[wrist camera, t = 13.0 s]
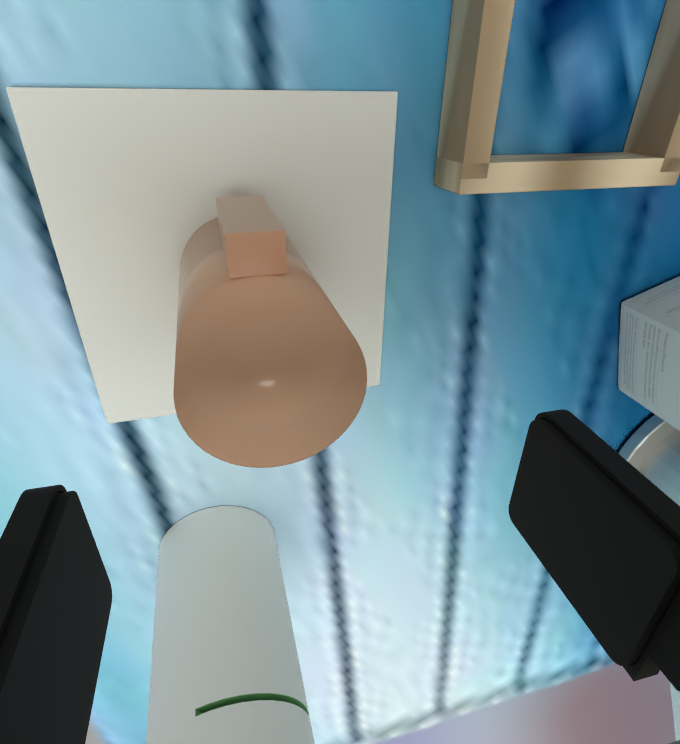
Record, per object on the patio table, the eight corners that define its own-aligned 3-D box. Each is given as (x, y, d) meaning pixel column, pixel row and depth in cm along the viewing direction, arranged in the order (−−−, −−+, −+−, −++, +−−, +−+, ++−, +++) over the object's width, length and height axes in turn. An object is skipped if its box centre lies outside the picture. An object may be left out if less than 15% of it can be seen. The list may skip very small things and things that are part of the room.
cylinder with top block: (295, 180, 20) (373, 246, 11) (300, 320, 23) (363, 451, 15) (164, 184, 18) (144, 262, 10) (189, 332, 22) (190, 481, 13)
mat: (392, 91, 19) (397, 91, 19) (376, 379, 27) (379, 385, 26) (11, 87, 16) (5, 87, 16) (109, 416, 23) (107, 423, 23)
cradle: (722, -110, 19) (787, -135, 17) (634, 177, 25) (675, 185, 22) (468, -146, 16) (508, -180, 14) (433, 184, 22) (458, 194, 20)
